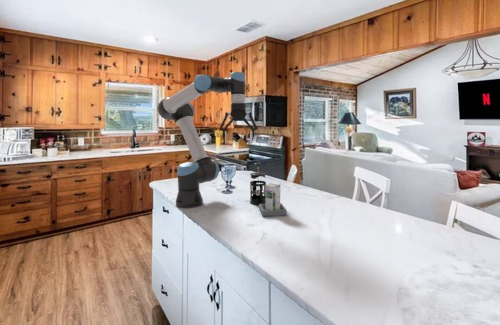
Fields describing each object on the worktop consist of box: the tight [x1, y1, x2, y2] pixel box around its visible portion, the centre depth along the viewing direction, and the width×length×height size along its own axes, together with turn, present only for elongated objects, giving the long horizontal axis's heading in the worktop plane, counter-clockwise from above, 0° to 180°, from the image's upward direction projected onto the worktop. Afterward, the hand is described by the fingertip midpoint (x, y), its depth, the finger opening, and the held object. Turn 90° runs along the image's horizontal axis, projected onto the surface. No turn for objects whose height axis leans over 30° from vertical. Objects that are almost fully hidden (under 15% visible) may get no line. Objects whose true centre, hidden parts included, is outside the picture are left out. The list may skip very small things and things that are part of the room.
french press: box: [249, 162, 267, 206], centre depth 163 cm, size 12×9×23 cm
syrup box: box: [265, 182, 281, 210], centre depth 146 cm, size 6×6×14 cm
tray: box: [258, 202, 288, 218], centre depth 147 cm, size 12×12×3 cm
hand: (238, 143), depth 153 cm, fingers open, 13 cm apart
